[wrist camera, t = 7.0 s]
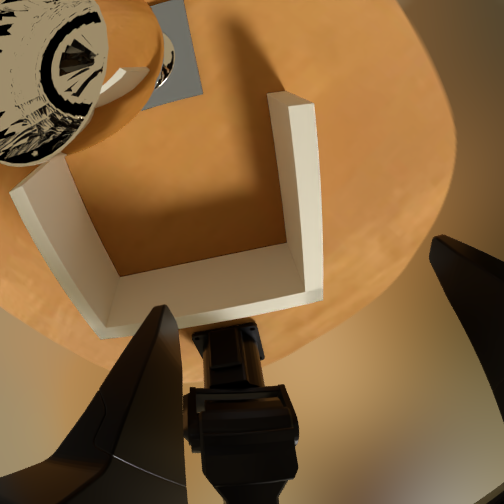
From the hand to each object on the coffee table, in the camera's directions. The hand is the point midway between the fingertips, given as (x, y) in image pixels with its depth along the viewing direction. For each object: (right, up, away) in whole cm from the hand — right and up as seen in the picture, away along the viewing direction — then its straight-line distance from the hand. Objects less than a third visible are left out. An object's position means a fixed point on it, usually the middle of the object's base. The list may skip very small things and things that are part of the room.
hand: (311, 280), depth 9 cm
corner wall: (-7, +4, +11) cm, 14 cm away
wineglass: (-8, +12, +5) cm, 15 cm away
